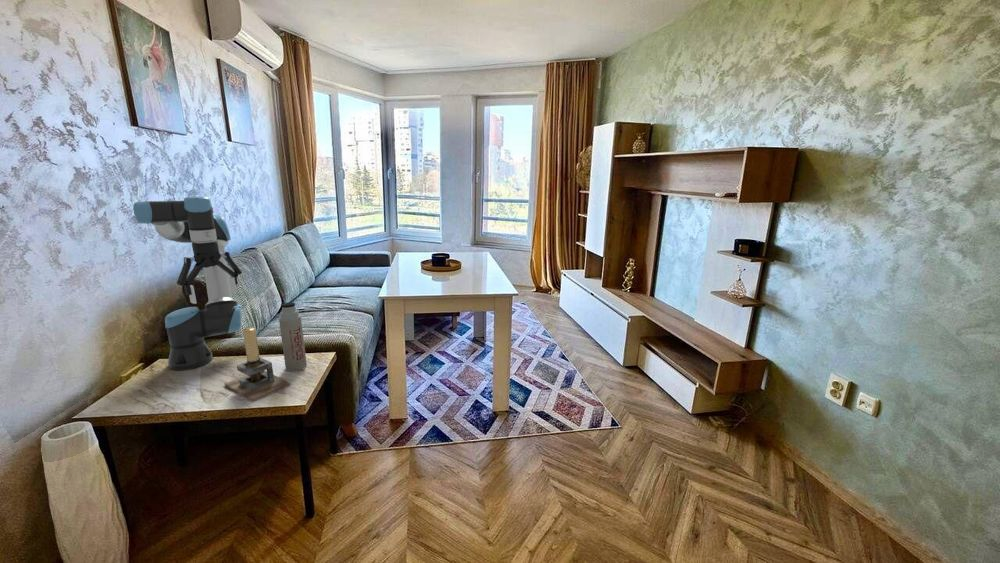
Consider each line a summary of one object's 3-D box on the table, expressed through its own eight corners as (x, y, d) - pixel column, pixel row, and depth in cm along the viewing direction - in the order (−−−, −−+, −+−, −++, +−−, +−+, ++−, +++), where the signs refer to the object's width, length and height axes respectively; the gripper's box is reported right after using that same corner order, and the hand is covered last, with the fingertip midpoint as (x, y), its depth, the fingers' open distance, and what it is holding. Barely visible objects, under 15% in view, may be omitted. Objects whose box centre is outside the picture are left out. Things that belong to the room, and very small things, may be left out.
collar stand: (224, 385, 155) (220, 364, 153) (261, 371, 167) (258, 351, 164) (252, 401, 145) (248, 378, 142) (290, 384, 156) (287, 363, 154)
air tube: (248, 383, 155) (240, 329, 149) (259, 379, 158) (251, 326, 152) (254, 386, 153) (246, 332, 147) (265, 382, 156) (258, 328, 150)
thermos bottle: (309, 367, 170) (301, 304, 163) (288, 373, 165) (279, 308, 158) (303, 361, 176) (296, 299, 169) (283, 366, 171) (274, 303, 164)
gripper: (167, 247, 132) (180, 309, 138) (246, 237, 152) (254, 291, 158) (157, 245, 135) (169, 305, 141) (235, 235, 156) (243, 288, 162)
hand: (214, 298), depth 150 cm, fingers open, 13 cm apart
